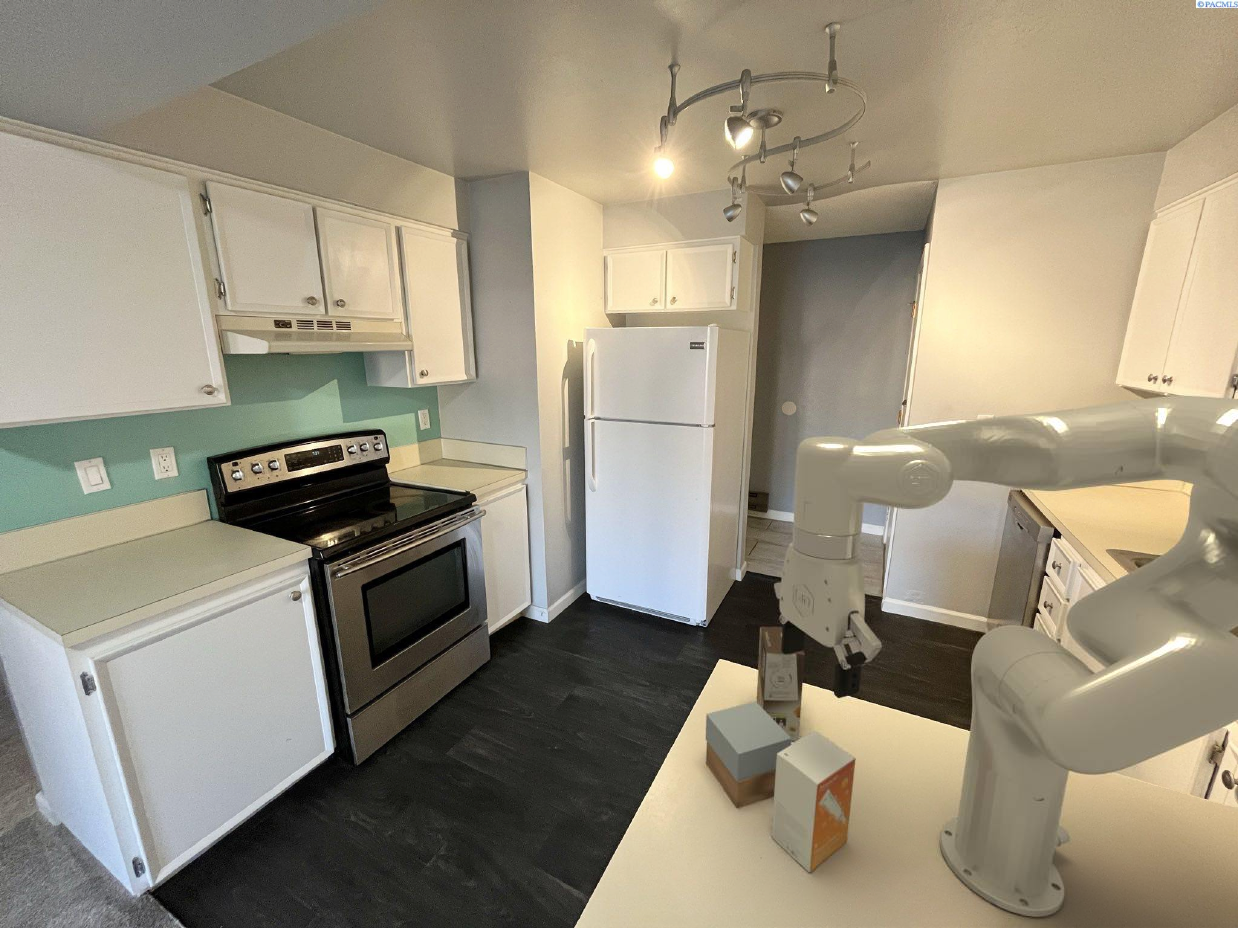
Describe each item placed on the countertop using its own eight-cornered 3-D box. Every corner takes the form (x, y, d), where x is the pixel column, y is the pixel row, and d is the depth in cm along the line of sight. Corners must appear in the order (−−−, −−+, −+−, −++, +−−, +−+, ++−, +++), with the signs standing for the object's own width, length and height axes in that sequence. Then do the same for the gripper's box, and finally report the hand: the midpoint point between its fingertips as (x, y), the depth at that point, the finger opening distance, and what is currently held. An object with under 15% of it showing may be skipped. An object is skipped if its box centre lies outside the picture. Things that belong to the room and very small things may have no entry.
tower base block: (754, 750, 85) (755, 726, 85) (789, 792, 77) (791, 766, 76) (705, 764, 82) (706, 739, 82) (736, 809, 74) (738, 782, 73)
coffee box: (800, 742, 87) (806, 655, 84) (760, 738, 88) (765, 652, 85) (790, 707, 96) (795, 627, 93) (754, 704, 97) (758, 624, 94)
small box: (810, 875, 64) (817, 784, 62) (769, 837, 70) (775, 752, 67) (848, 842, 69) (857, 756, 66) (808, 808, 74) (814, 728, 72)
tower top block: (754, 725, 85) (755, 701, 84) (789, 764, 76) (791, 738, 76) (705, 739, 82) (706, 713, 81) (737, 781, 73) (738, 753, 73)
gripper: (756, 524, 68) (752, 643, 72) (855, 572, 52) (844, 722, 56) (803, 518, 71) (797, 633, 74) (912, 562, 55) (898, 706, 58)
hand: (817, 671), depth 65 cm, fingers open, 9 cm apart
